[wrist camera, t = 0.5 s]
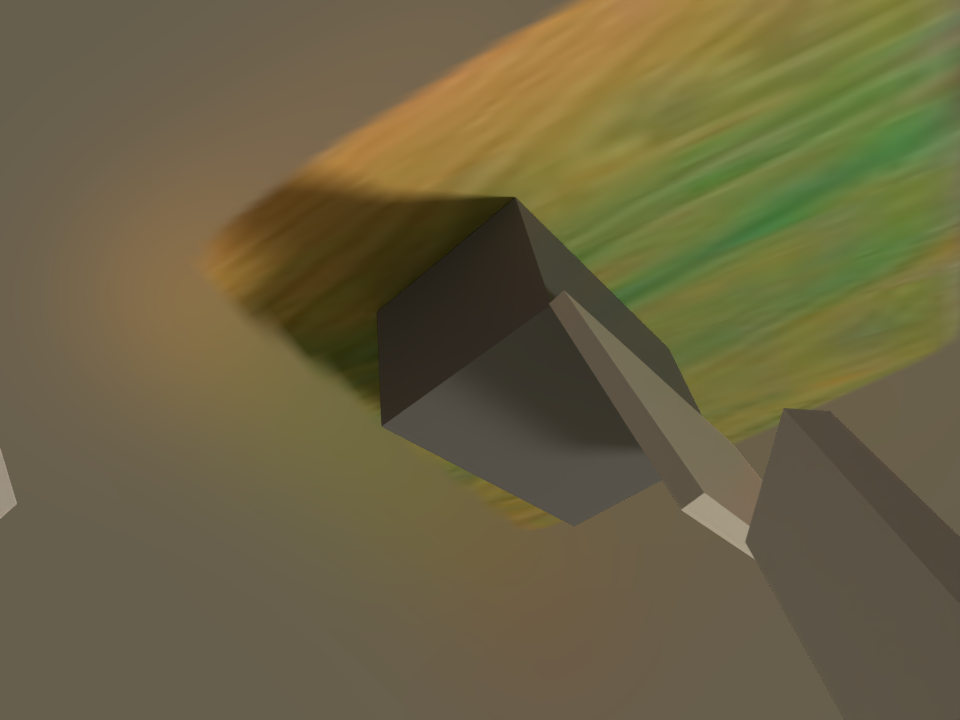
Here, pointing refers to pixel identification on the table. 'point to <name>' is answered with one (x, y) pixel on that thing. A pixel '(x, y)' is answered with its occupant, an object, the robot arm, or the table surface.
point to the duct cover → (669, 431)
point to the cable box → (515, 371)
